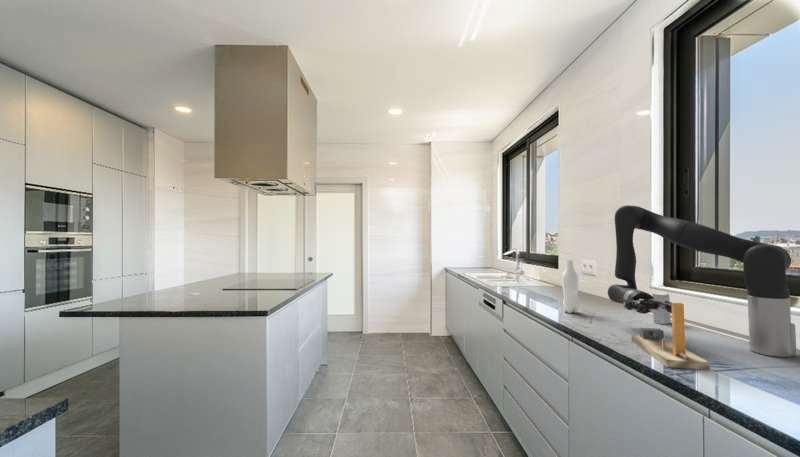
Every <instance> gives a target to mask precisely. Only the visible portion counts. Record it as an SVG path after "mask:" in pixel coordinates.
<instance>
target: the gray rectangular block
mask: <svg viewBox="0 0 800 457" xmlns="http://www.w3.org/2000/svg"><path fill="white" fill-rule="evenodd" d="M639 336H640V337H641V338H643V339H653V340H662V339H664V337H665V332H664V330H663V329H662V328H661V329H660V328H656V327H654V328H649V327H639Z"/></svg>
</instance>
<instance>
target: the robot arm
mask: <svg viewBox="0 0 800 457" xmlns="http://www.w3.org/2000/svg"><path fill="white" fill-rule="evenodd" d="M614 227H615V240H616V242H615V244H616V252H615V254H616V255H615V256H616V257H615V266H614V267H615V269H614V277H615V278H616V279H618V280H622V281H625V282H626V283H627V284H625V285H624V284H611V285H610V286H609V287H608V290H607V296H608V298H609V299H610V301H611V302H614V303H618V304H622V305H623V307H624V308H625V309H626V310H628V311H632V310H634V311H635V312H637V313H639V314H649V313H651V312H653V311H660V312H662V311H667V312H670V314H672V308H671V303H673V302H671V301H670V302H669V301H664V302H663V301H658V300H655V299H654V298H653V297H652V295H651V294H650V293H649V292H645V291H643V290H641V289H638V286H637V281H636V268H637V255H636V252H635V247H634V232H635V230H636V229H637V230H641V231H645V232H650V233H653V234H655V235H658V236H660V237H662V238H663V239H665V240H667V241H669V242H670V243H672V244H675V245H677V246H681V247H682V248H686V249H689V250H691V251H692V250H693V251H695V252H701V253H704V254H709V255H713V256H714V255H715V256H721V257H725V258H729V259H732V260H735V261H737V262H740V263H743V264H742V265H743V277H744V278H743V279H744V284H745V288H746V291H747V313H748V314H747V316H748V338H749V340H748V341H749V343H748V344H749V350H750V351H752V352H754V353H758V354H761V355H764V356H771V357H779V358H790V357H797V338H796V336H797V334H796V333H797V332H796V324H795V323H793V322H792V318H791V317H792V315H791V313H792V312H791V294H790V293H791V292H790V288H789V287H788V284H787V274H786V273H787V272H786V270H788V269H789V267H790V266H791V264H792V256H791V255H790V253H789V252H788V251H787V250H786V249H785V248H784V247H781V246H779V245H775V244H769V243H763V242H760V241H756V240H755V241H754V240H750V239H746V238H743V237H738V236H735V235H732V234H730V233H726V232H724V231H721V230H718V229H716V228H712V227H709V226H706V225H704V224H700V223H696V222H692V221H689V220H685V219H680V218H676V217H670V216H665V215H661V214H658V213H656V212H653V211H652V210H651V211H650V210H648V209H646V208H644V207H642V206H637V205H628V204H627V205H622V206H620V207H618V209H617V210H616V211H615V213H614ZM658 308H660V309H658Z"/></svg>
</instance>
